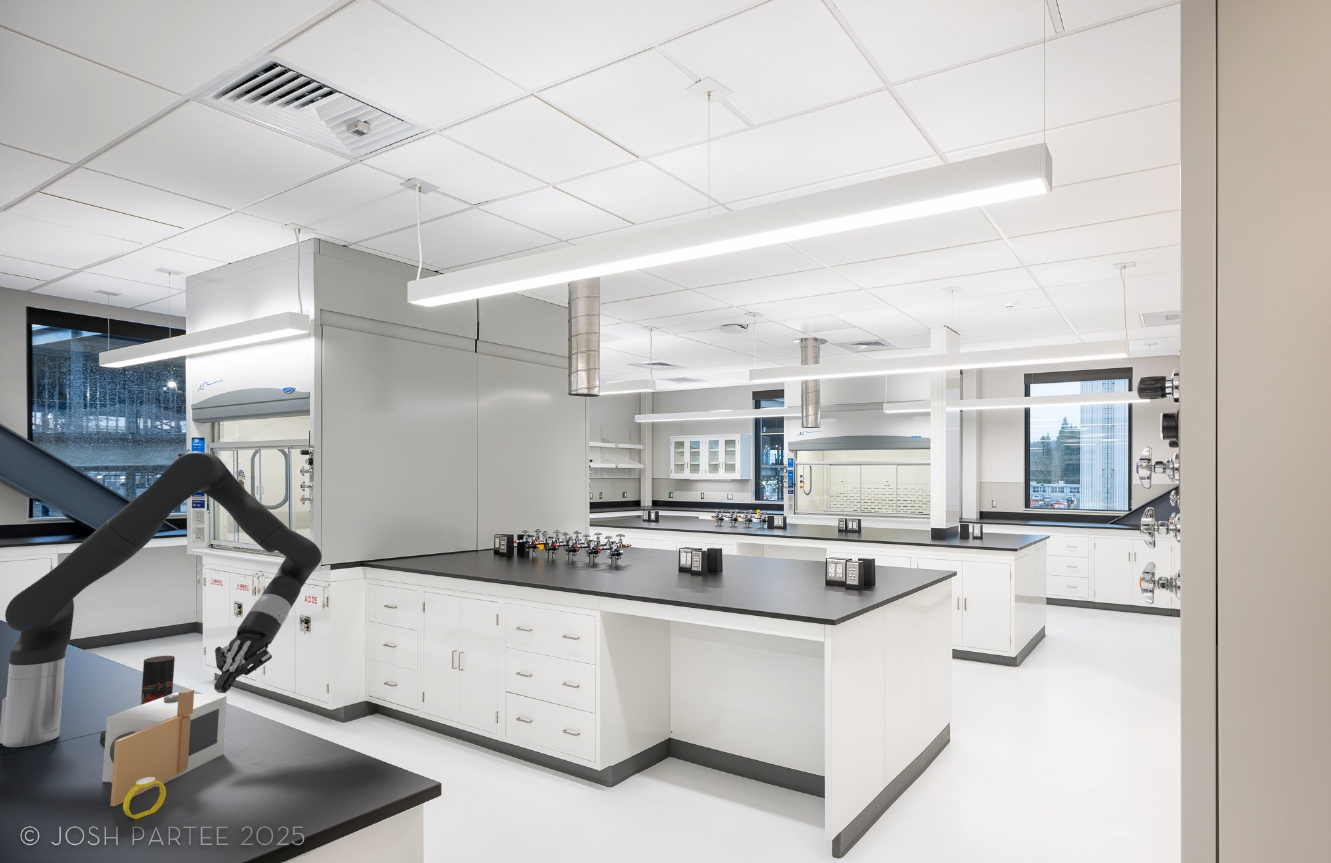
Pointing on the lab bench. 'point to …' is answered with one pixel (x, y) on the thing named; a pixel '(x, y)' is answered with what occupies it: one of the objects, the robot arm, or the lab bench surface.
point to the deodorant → (157, 678)
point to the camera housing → (203, 724)
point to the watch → (139, 784)
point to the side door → (153, 752)
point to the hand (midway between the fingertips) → (219, 691)
